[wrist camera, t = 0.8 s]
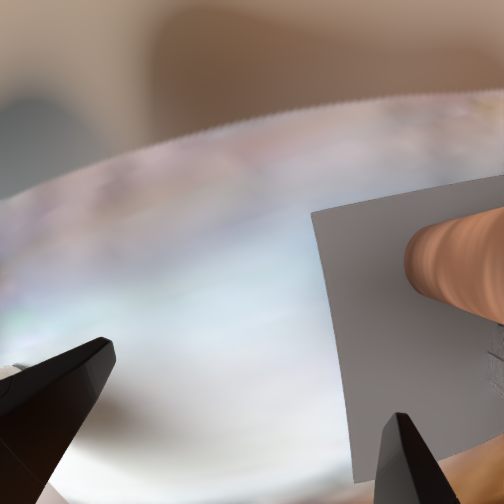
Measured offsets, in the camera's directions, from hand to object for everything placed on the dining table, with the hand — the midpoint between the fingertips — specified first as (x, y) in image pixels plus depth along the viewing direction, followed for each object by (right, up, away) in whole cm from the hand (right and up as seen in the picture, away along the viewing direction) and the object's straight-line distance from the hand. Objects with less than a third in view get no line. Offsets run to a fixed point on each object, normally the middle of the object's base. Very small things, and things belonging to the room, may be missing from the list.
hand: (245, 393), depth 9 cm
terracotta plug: (+13, +3, +11) cm, 17 cm away
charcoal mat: (+18, -2, +11) cm, 21 cm away
